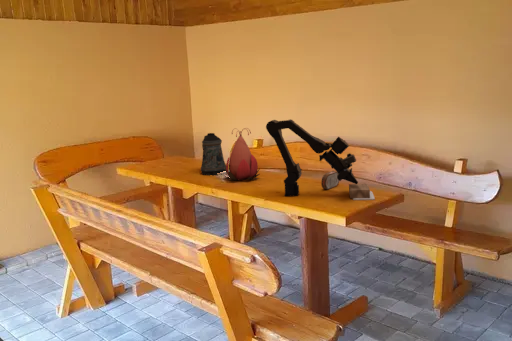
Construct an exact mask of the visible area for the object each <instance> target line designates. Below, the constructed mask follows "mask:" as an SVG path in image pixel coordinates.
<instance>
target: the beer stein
mask: <svg viewBox="0 0 512 341" xmlns="http://www.w3.org/2000/svg"><path fill="white" fill-rule="evenodd" d="M222 141H223V140H222V139H221V138H220V137H219V136H217V135H216V134H215V133H214V132H209V133H207V134H206V135H204V137H203V139H202V141H201V143H202V144H201V145H202V147H201V148H202V159H201V160H202V161H201V166H200V172H201V174H202V175H203V176H210V175H212V176H217V175H216V174H217V173H220V172H223V171H225V168H226V162H225V159H224V154H223V149H222ZM224 167H225V168H224Z"/></svg>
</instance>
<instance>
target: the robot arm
mask: <svg viewBox="0 0 512 341" xmlns="http://www.w3.org/2000/svg"><path fill="white" fill-rule="evenodd" d="M265 129H266V131H267V132H268V134H269V136H271V138H272V139H273V140H274V142H275V144H276V146H277V149H278V150H279V151H278V152H280V155H281V158H282V160H283V161H284V164H285V168H286V175H287V176H286V178H284V180H283V184H284V196H285V197H298V195H299V194H300V192H299V191H300V186H299V183H298V180H299V179H300V178H301V176H302V171H303V170H302V168H301V167H300V164H299V162H298V163H296V162H295V161H294V160H293V156H292V154H291V153H290V150H289V148H288V145H287V144H286V142H285V139H284V137H283V132H282V130H285V129H289V130H290V131H291V132H292V133H294V134H295V135H296V136H298V137H299V138H300V139H302V141H305V142H306V144H308V146H309V148H310V149H312V150H313V151H314V153H316V154H318V157H319V162H321V161H322V160H324V161H325V162H326V163H327V164H329V165H330V167H331V169H334V171H336V172H337V174H338V175H337V179H338V180H339V182H341V181H342V180H345V181H347V182H350V183H352V184H359V181H358V180H357V178H356V177H355V175H354V173H353V168H352V167H353V164H354V163H356V162H357V158H356V156H355V154H352V153H351V152H350V153H347V154H346V157H344V158H342V156H341V157H339V156H338V155H342V154H343V152H345V151H346V150H347V149H348V148H349V147H350V145H349V143H348V142H347V141H346V140H344V139H343V138H341V137H340V136H337V138H335V140H334V141H333V142H332V143H330V142H325V140H323V139H320V138H318V137H316V136H313V135H312V134H311V133H309V132H308V131H306V130H305V129H304V128H303V127H302V126H300V125H299V124H297V123H296V122H295V121H294V120H293V119H288V120H287V119H286V120H276V119H273V120H270V121H268V122H267V123H266V126H265Z"/></svg>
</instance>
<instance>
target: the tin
mask: <svg viewBox="0 0 512 341" xmlns="http://www.w3.org/2000/svg"><path fill="white" fill-rule="evenodd" d="M337 175H338V174H337V171H336V170H332V171H328V172H326V173H324V174H323V176H322V178H321V182H320V184H321V188H322V189H323V190H324V189H325V190H330V189H332V188H336V187H337V186H338V185H339V183H340V181H339V180H338V179H337Z"/></svg>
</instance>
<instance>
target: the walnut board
mask: <svg viewBox="0 0 512 341" xmlns="http://www.w3.org/2000/svg"><path fill="white" fill-rule="evenodd" d="M370 191H371V189H370V187H369V185H368V183H357V184H355V183H352V184H351V183H350V184H349V183H348V194H349V197H350V199H353V198H370Z"/></svg>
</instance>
